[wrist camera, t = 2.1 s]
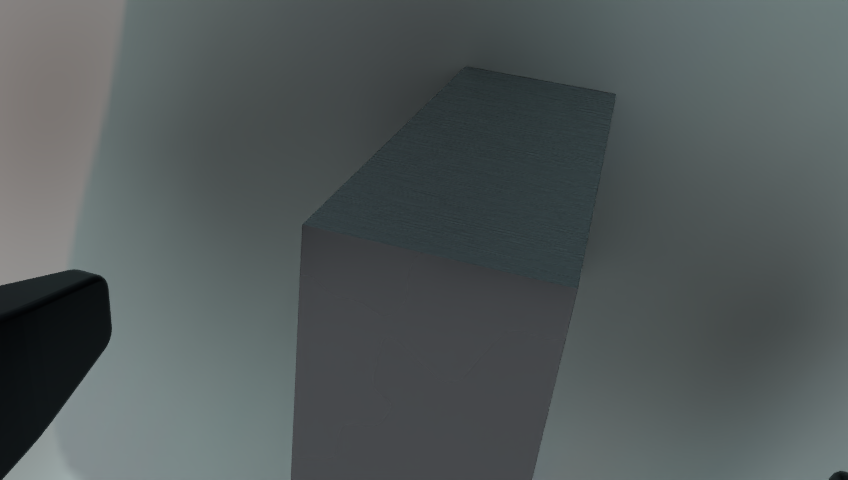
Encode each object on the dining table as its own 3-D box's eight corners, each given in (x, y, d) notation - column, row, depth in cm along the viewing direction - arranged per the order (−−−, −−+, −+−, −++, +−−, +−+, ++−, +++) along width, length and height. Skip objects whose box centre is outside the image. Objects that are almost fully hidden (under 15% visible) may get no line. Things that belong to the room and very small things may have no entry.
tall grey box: (574, 273, 16) (512, 562, 9) (440, 242, 17) (289, 494, 10) (616, 93, 15) (577, 288, 8) (465, 66, 15) (302, 224, 8)
